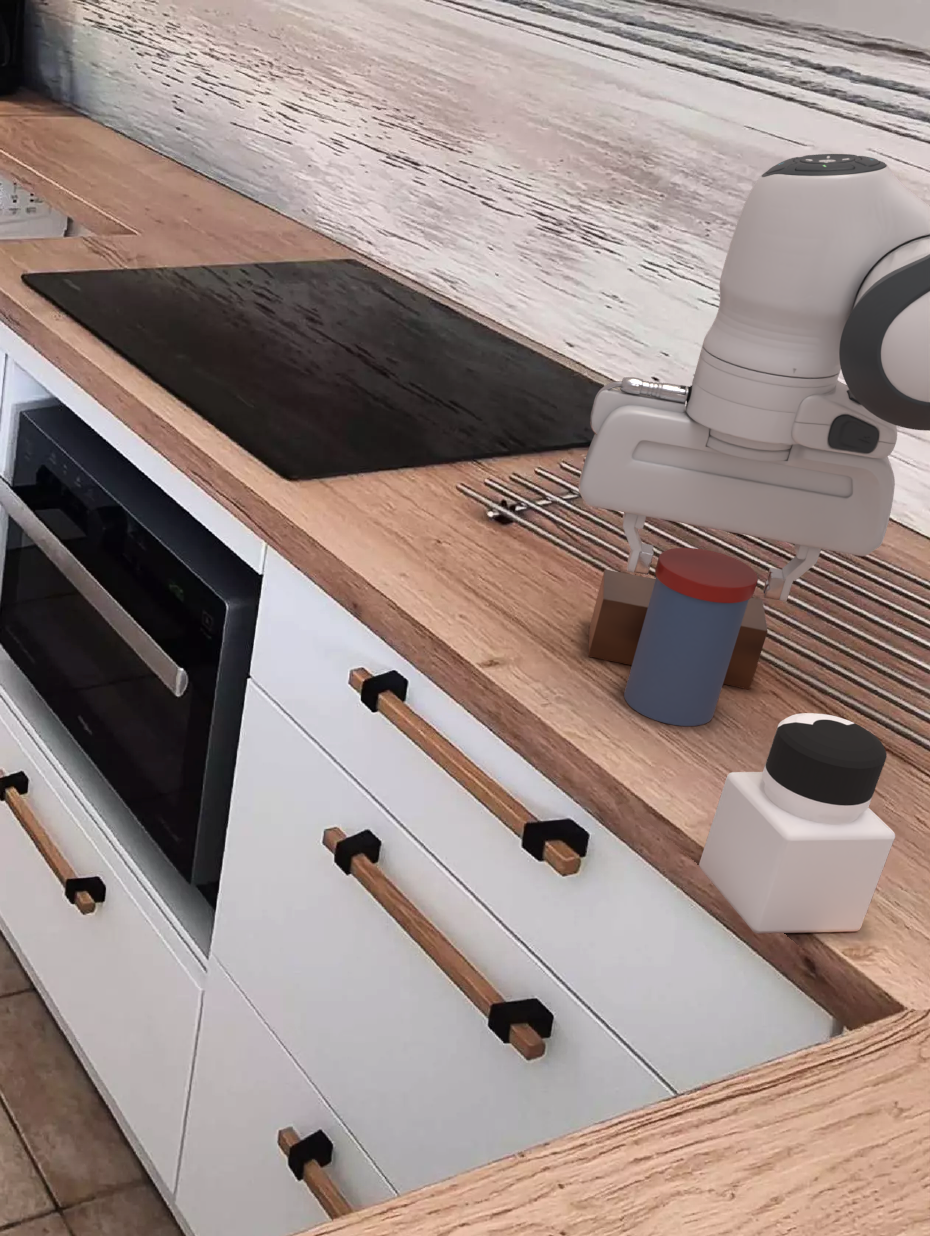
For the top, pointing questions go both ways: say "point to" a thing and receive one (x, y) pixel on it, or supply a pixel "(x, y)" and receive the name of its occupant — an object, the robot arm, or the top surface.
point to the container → (688, 635)
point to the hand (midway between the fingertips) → (705, 583)
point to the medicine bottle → (802, 830)
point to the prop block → (625, 615)
